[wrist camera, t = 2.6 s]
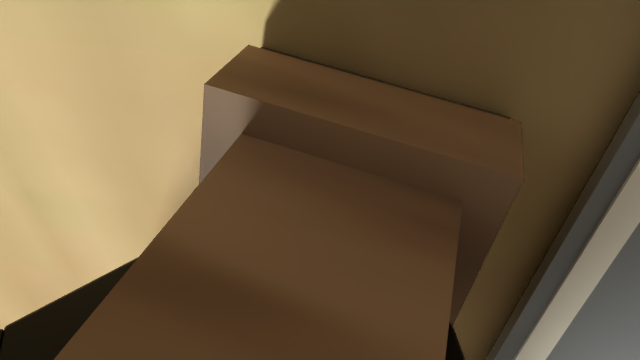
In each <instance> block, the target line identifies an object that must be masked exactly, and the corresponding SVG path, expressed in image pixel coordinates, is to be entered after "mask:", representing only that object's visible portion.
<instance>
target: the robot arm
mask: <svg viewBox="0 0 640 360" xmlns="http://www.w3.org/2000/svg"><path fill="white" fill-rule="evenodd" d="M137 259H138V258H136V259H134V260H132V261H130V262H128V263H126V264H124V265H122V266H120V267H119V268H117V269H115V270H113V271H111V272H109V273H107V274H105V275H103V276H101V277H99V278H97V279H95V280H94V281H92V282H90V283H88V284H86V285H84V286H82V287H80V288H78V289H76V290H74V291H72V292H70V293H69V294H67V295H65V296H63V297H61V298H59V299H57V300H55V301H53V302H51V303H49V304H47V305H45V306H44V307H42V308H40V309H38V310H36V311H34V312H32V313H30V314H28V315H26V316H24V317H22V318H20V319H19V320H17V321H15V322H13V323H11V324H9V325H7V326H6V327H5V328H4V330H3V329H0V360H54V359H55V357H56V356H57V355H58V354H59V353H60V351H61V350H62V349H63V348H64V347H65V345H66V344H67V343H68V342H69V341H70V339H71V338H72V337H73V336H74V335H75V333H76V332H77V331H78V330H79V329H80V327H81V326H82V325H83V324H84V323H85V321H86V320H87V319H88V318H89V317H90V315H91V314H92V313H93V312H94V310H95V309H96V308H97V307H98V306H99V304H100V303H101V302H102V301H103V300H104V298H105V297H106V296H107V295H108V294H109V292H110V291H111V290H112V289H113V288H114V286H115V285H116V284H117V283H118V282H119V280H120V279H121V278H122V277H123V276H124V274H125V273H126V272H127V271H128V270H129V268H130V267H131V266H132V265H133V264H134V262H135V261H136V260H137ZM445 360H465V358H464V355H463V352H462V349H461V347H460V344H459V341H458V339H457V336H456V333H455V331H454V328H453V325H452V323H451V322H450V321H449V329H448V338H447V347H446V356H445Z"/></svg>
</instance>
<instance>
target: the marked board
mask: <svg viewBox="0 0 640 360" xmlns="http://www.w3.org/2000/svg"><path fill="white" fill-rule="evenodd" d="M485 360H640V92H639V94H638V96H637V97H636V99H635V101H634V102H633V104H632V106H631V108H630V109H629V111H628V113H627V115H626V116H625V118H624V120H623V122H622V123H621V125H620V127H619V129H618V130H617V132H616V134H615V135H614V137H613V139H612V141H611V142H610V144H609V146H608V148H607V149H606V151H605V153H604V155H603V156H602V158H601V160H600V161H599V163H598V165H597V167H596V168H595V170H594V172H593V174H592V175H591V177H590V179H589V181H588V182H587V184H586V186H585V188H584V189H583V191H582V193H581V194H580V196H579V198H578V200H577V201H576V203H575V205H574V207H573V208H572V210H571V212H570V214H569V215H568V217H567V219H566V220H565V222H564V224H563V226H562V227H561V229H560V231H559V233H558V234H557V236H556V238H555V240H554V241H553V243H552V245H551V247H550V248H549V250H548V252H547V253H546V255H545V257H544V259H543V260H542V262H541V264H540V266H539V267H538V269H537V271H536V273H535V274H534V276H533V278H532V279H531V281H530V283H529V285H528V286H527V288H526V290H525V292H524V293H523V295H522V297H521V299H520V300H519V302H518V304H517V306H516V307H515V309H514V311H513V312H512V314H511V316H510V318H509V319H508V321H507V323H506V325H505V326H504V328H503V330H502V332H501V333H500V335H499V337H498V338H497V340H496V342H495V344H494V345H493V347H492V349H491V351H490V352H489V354H488V356H487V358H486V359H485Z"/></svg>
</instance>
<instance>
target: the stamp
mask: <svg viewBox="0 0 640 360" xmlns="http://www.w3.org/2000/svg"><path fill="white" fill-rule="evenodd" d="M523 181H524V166H523V147H522V128H521V122H518V121H514V120H511V119H510V118H509V117H506V116H502V115H499V114H495V113H492V112H488V111H485V110H481V109H478V108H474V107H471V106H467V105H464V104H460V103H456V102H453V101H449V100H446V99H442V98H439V97H435V96H432V95H428V94H425V93H421V92H418V91H414V90H411V89H407V88H404V87H400V86H397V85H393V84H390V83H386V82H383V81H379V80H376V79H372V78H369V77H365V76H362V75H358V74H355V73H351V72H347V71H344V70H340V69H337V68H333V67H330V66H326V65H323V64H319V63H316V62H312V61H309V60H305V59H302V58H298V57H295V56H291V55H288V54H284V53H281V52H277V51H274V50H270V49H267V48H263V47H261V48H258V47H254V46H251V45H248V46H247V47H245V48H244V49H243V50H242V51H241V52H240V53H239V54H238V55H236V56H235V57H234V58H233V59H232V60H231V61H230V62H229V63H227V64H226V65H225V66H224V67H223V68H222V69H221V70H220V71H219V72H217V73H216V74H215V75H214V76H213V77H212V78H211V79H210V80H208V81H207V82H206V83H205V84H204V101H203V120H202V139H201V158H200V176H199V185H198V186H197V188H196V189H195V190H194V191H193V192H192V194H191V195H190V196H189V197H188V198H187V200H186V201H185V202H184V203H183V205H182V206H181V207H180V208H179V209H178V211H177V212H176V213H175V214H174V215H173V217H172V218H171V219H170V220H169V221H168V223H167V224H166V225H165V226H164V227H163V229H162V230H161V231H160V232H159V233H158V235H157V236H156V237H155V238H154V239H153V241H152V242H151V243H150V244H149V245H148V247H147V248H146V249H145V250H144V251H143V253H142V254H141V255H140V256H139V257H138V259H137V260H136V261H135V262H134V264H133V265H132V266H131V267H130V268H129V270H128V271H127V272H126V273H125V274H124V276H123V277H122V278H121V279H120V280H119V282H118V283H117V284H116V285H115V286H114V288H113V289H112V290H111V291H110V292H109V294H108V295H107V296H106V297H105V298H104V300H103V301H102V302H101V303H100V304H99V306H98V307H97V308H96V309H95V310H94V312H93V313H92V314H91V315H90V317H89V318H88V319H87V320H86V321H85V323H84V324H83V325H82V326H81V327H80V329H79V330H78V331H77V332H76V333H75V335H74V336H73V337H72V338H71V339H70V341H69V342H68V343H67V344H66V345H65V347H64V348H63V349H62V350H61V351H60V353H59V354H58V355H57V356H56V357H55V359H54V360H445V356H446V347H447V338H448V329H449V321H450V322H451V323H452V325H453V323H454V321H455V319H456V317H457V315H458V313H459V311H460V309H461V307H462V305H463V303H464V301H465V299H466V297H467V295H468V293H469V291H470V289H471V287H472V285H473V283H474V281H475V279H476V276H477V274H478V272H479V270H480V268H481V266H482V264H483V262H484V260H485V258H486V256H487V254H488V252H489V250H490V248H491V246H492V244H493V242H494V240H495V238H496V236H497V234H498V232H499V230H500V228H501V225H502V223H503V221H504V219H505V217H506V215H507V213H508V211H509V209H510V207H511V205H512V203H513V201H514V199H515V197H516V195H517V193H518V191H519V189H520V187H521V185H522V183H523Z"/></svg>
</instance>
